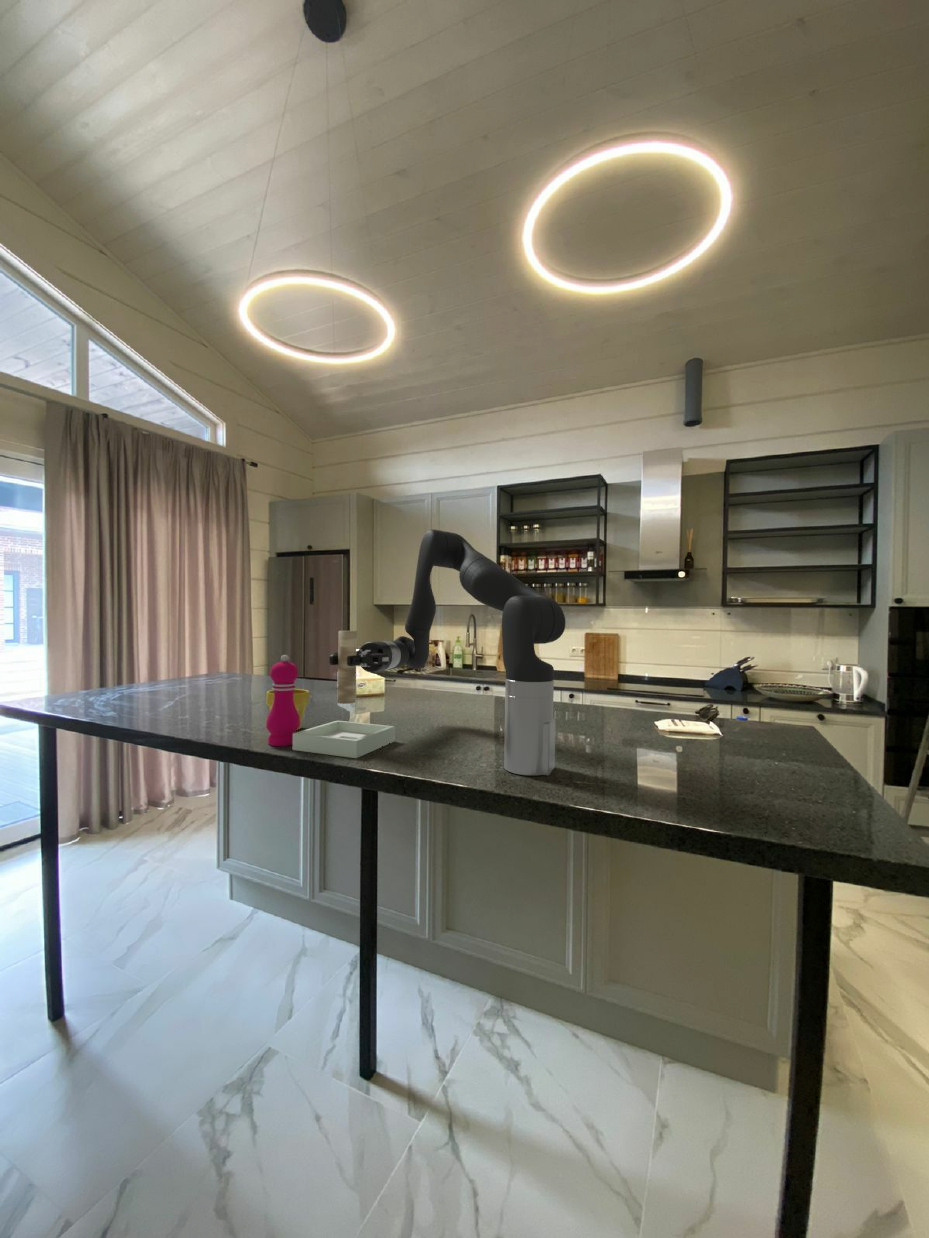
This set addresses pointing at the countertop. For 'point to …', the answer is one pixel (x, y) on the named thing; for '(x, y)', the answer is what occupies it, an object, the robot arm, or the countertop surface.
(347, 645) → the peg
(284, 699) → the pepper mill
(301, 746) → the bin
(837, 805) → the countertop surface
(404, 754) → the countertop surface
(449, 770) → the countertop surface
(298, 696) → the plant pot
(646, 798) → the countertop surface
